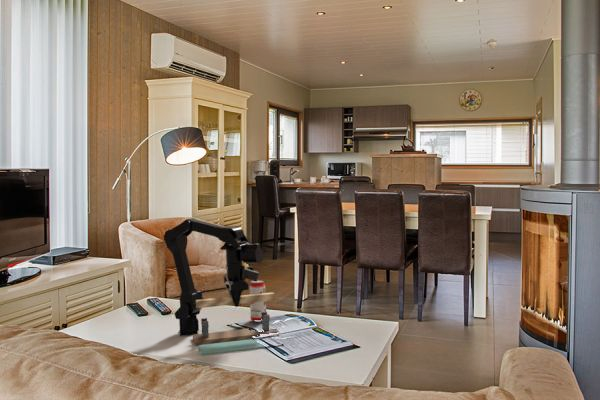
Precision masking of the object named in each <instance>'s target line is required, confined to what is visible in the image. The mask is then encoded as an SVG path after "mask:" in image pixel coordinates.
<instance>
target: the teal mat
mask: <svg viewBox="0 0 600 400" xmlns="http://www.w3.org/2000/svg"><path fill="white" fill-rule="evenodd" d="M258 349H259V350H260V349H265V346H264V345H262V344H260V343H257V342H255V341H254V340H253V339H248V340H239V341H231V342H222V343H214V344H205V345H198V350H199V352H200V356H209V355H218V354H223V353H224V354H225V353H226V354H227V353H233V352H241V351H251V350H258Z"/></svg>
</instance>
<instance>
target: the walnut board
mask: <svg viewBox="0 0 600 400" xmlns="http://www.w3.org/2000/svg"><path fill="white" fill-rule="evenodd" d="M247 329H248V328H242V329H232V330H225V331H224V330H223V331H214V332H213V331H212V332H208V333H209V338H203V337H202V333H198V334H192V340H193V342H194V343H193V344H194V346H199V345H206V344H215V343H223V342H232V341H240V340H249V339H252V336H257V335H260V334H269V333H277V332H279V333H280V331H279V330H278V329H277V328H276V329H270V330H269V331H264V332H263V331H262V332H258V331H255V330H251V331H250V330H247Z"/></svg>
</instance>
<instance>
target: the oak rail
mask: <svg viewBox="0 0 600 400" xmlns="http://www.w3.org/2000/svg"><path fill="white" fill-rule="evenodd" d="M275 294H276V293H275V292H273V291H272V292H271V291H270V292H265V293H261V294H251V295H250V294H245V295H244V294H243V295H242V294H241V297H240V301H239V305H243V304H250V303H253V302H263V301H266V302H270V301H275V300H276V295H275ZM231 305H234V302H233V300H232V297H230V296H223V297H213V298H203V299H201V300H196V308H202V309H203V308H213V307H214V308H215V307H221V306H222V307H224V306H231ZM234 306H235V305H234Z"/></svg>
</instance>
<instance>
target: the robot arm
mask: <svg viewBox="0 0 600 400" xmlns="http://www.w3.org/2000/svg"><path fill="white" fill-rule="evenodd" d="M193 232H197V233H198V234H199V233H200V234H204V235H206V236H207V235H208V236H210V237H215V238H217V239H218V240H219V241H221V242H223V243H224V244H223V245H222V246H221V247H220V250H221V251H225V259H226V260H225V261H226V262H225V263H226V264H225V269H226V273H225V274H224V275H223V276H222V282H223V283H224V284H225V283H226V282H227V283H226V284H225V288H226V290H227V292H228V295H229V297H232V300H233V302H234V307H236V308H237V307H239V306H240V304H239V301H240V297H241V295H242V293H243V292H244V291H248V290H249V291H250V284H249V283H248V281H246V279H247V280H251V281H255V282H257V280H259V279H258V278H259V275H260V272H258V271H257V270H255V269H254V267H253V266H249V265H248V267H246V266H245V265H244V264H243V263H245V264H261V263H262V261H263V259H264V251H263V249H262V247H261V244H260V243H251V242H250V241H249V238H247V236H246V235H245V232H244V230H243V227H241V226H237V225H235V226H234V225H219V224H215V223H211V222H207V221H203V220H199V219H196V218H187V219H185V220H183V221H182V222H181V223H179V224H178V225H176V226H174V227H172V228H171V229H167V230H166V231H165V232H164V234H163V241H164V244H165V246H166V248H167V249H168V251H170V253H171V254H172V257H173V261H174V262H173V263H174V266H175V270H176V274H177V278H178V282H179V286H180V297H179V308H177V310H176V311H175V312H174V317H175V319H176V320H178V324H179V330H178V331H179V336H180V337H181V336H190V335H192V336H193V335H195V334H199V330H200V329H199V327H200V325H199V319H198V317H197V316H198V315H200V314H201V310H202V309H203V308H196V300H201V299H204V297H203V293H202V292H203V291H201V290H199V291H198V290H197V288H195V284H194V281H193V276H192V272H191V267H190V264H189V263H190V262H189V259H188V254H187V247H188V236H190V235H191V234H192V233H193Z"/></svg>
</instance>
